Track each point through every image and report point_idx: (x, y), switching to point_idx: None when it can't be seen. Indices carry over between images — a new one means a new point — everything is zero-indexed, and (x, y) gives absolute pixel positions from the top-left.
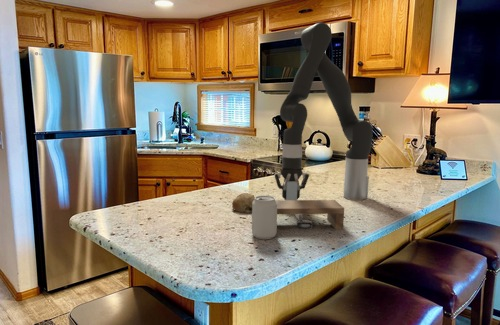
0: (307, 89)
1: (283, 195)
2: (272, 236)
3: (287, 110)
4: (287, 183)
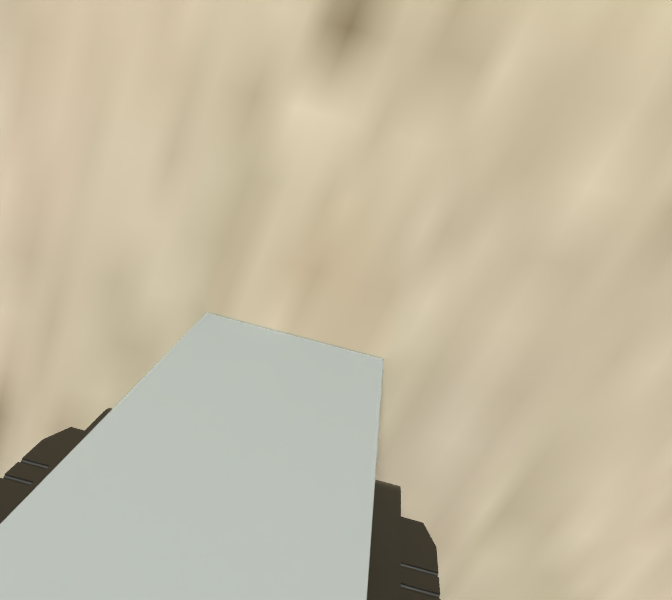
0: None
1: None
2: None
3: None
4: None
